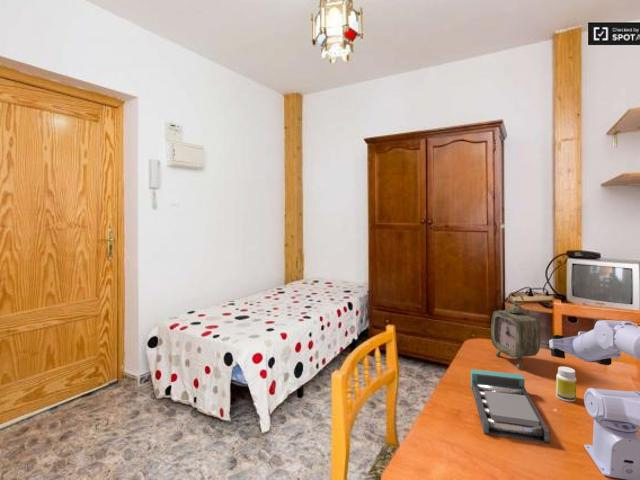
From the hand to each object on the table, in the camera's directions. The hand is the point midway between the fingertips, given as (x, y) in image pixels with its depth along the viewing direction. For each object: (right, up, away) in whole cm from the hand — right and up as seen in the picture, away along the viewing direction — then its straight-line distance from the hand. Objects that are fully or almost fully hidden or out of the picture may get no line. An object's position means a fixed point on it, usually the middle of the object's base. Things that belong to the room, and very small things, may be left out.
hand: (568, 354), depth 93 cm
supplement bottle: (+4, -15, +8) cm, 17 cm away
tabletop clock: (+3, -13, +32) cm, 34 cm away
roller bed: (-17, -16, 0) cm, 23 cm away
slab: (-18, -13, -4) cm, 22 cm away
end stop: (-13, -15, +12) cm, 23 cm away
